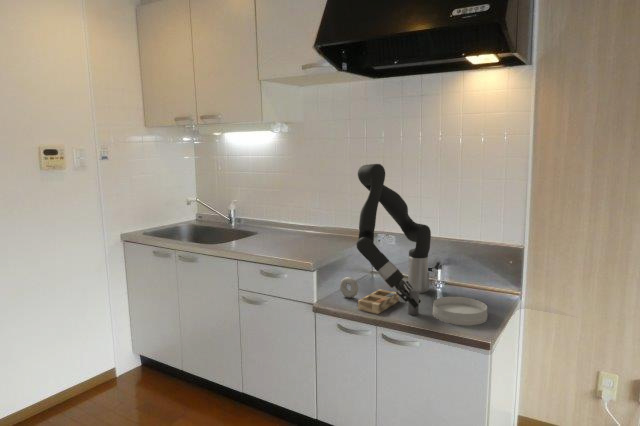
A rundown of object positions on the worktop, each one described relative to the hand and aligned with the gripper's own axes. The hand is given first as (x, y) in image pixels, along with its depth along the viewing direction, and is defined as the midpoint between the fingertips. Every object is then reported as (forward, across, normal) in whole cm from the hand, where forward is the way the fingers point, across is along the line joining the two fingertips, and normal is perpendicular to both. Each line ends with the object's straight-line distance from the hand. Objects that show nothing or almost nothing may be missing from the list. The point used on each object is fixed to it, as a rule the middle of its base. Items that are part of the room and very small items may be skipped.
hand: (418, 304), depth 198 cm
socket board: (-10, +5, +16) cm, 19 cm away
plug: (+2, 0, +4) cm, 5 cm away
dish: (+15, +5, -8) cm, 18 cm away
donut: (-21, +10, +28) cm, 36 cm away
